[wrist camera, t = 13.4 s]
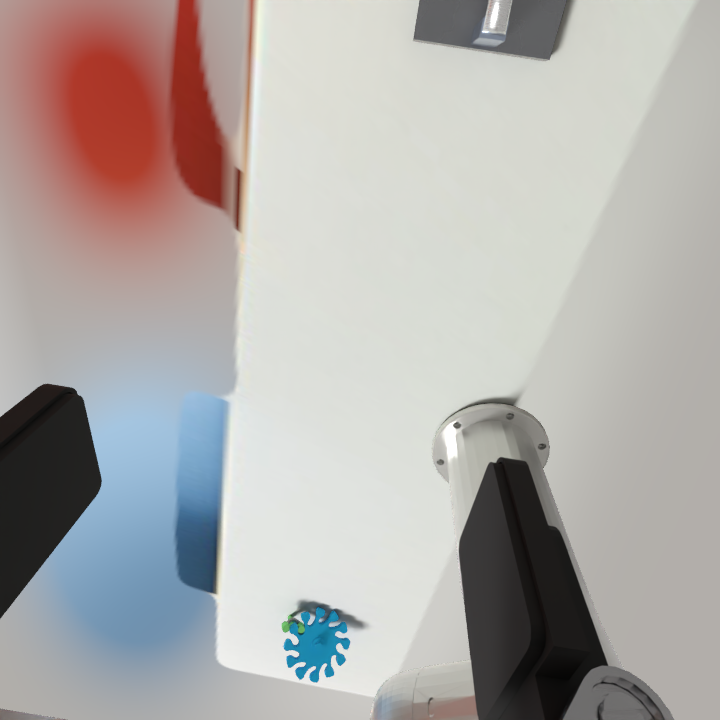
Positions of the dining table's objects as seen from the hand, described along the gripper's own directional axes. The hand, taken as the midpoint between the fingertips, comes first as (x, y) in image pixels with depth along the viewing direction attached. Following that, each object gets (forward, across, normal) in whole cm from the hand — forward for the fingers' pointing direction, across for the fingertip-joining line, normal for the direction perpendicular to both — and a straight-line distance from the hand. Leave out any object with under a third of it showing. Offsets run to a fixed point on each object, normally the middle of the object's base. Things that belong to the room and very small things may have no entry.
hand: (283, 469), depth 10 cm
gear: (+33, -1, +64) cm, 72 cm away
